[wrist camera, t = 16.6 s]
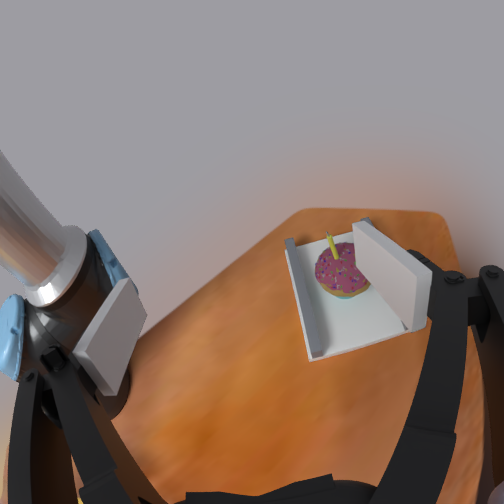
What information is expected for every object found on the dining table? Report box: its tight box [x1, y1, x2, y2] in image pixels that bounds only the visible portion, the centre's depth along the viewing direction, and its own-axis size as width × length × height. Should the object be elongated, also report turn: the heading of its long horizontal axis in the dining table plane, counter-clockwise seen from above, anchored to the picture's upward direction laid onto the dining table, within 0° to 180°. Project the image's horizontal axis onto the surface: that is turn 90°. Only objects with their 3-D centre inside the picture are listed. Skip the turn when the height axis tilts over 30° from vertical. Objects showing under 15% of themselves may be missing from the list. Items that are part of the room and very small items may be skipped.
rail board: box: [285, 217, 410, 362], centre depth 41 cm, size 20×16×4 cm
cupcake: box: [315, 231, 371, 299], centre depth 37 cm, size 9×8×12 cm
